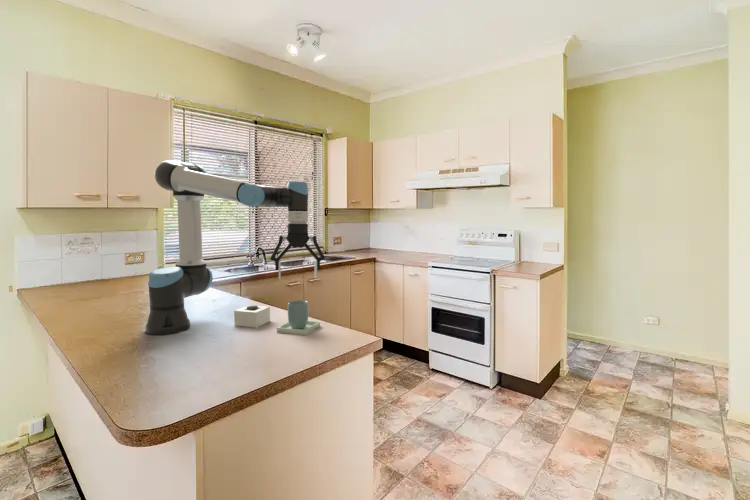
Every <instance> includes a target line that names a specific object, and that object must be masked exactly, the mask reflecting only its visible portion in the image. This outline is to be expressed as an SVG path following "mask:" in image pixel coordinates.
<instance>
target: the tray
mask: <svg viewBox="0 0 750 500" xmlns="http://www.w3.org/2000/svg"><path fill="white" fill-rule="evenodd" d="M319 327H321V321H314V320H308V322H307V325H306V327H304V328H302V329H293V328H291V327H290V325H289V321H286V322H285V323H282V324H281V325H279V326H277V327H276V333H279V334H280V333H281V334H287V335H288V334H289V335H299V336H300V335H301V336H308V335H309V334H311V333H313V332H314V331H316V330H317V329H319Z"/></svg>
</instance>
